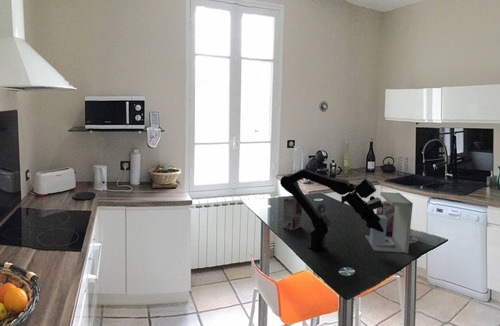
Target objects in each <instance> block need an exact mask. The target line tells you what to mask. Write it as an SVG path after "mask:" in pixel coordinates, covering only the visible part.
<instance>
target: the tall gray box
mask: <svg viewBox="0 0 500 326" xmlns="http://www.w3.org/2000/svg"><path fill="white" fill-rule="evenodd" d="M378 216H379V218H380V219H381V220H380V221H379V223H380V225H381V227H382V228H383V230H384V231H383V232H380V231H378V230H375V229H373V228H369V236H370V243H371V245H373V246H385V239H386V237H387V233H386V227H387V218H386V217H385V216H384V215H378ZM371 245H370V246H371Z"/></svg>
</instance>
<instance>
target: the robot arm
mask: <svg viewBox="0 0 500 326" xmlns="http://www.w3.org/2000/svg"><path fill="white" fill-rule="evenodd" d="M302 179H305V180H308V181H310V182H313V183H315V184H319V185H322V186H324V187H327V188H329V189H330V190H331V191H332V192H334V193H336V194H338V195H340V196H341V198H340V199H341V200H340V201H341V204H342V205H343V204H344V203H347V204H348V205H349V206H350V207H351V208H352V209H353V211H354V212H355V213H356V214H357V215H359V217H360V219H362V220H363V222H364V224H365V226H366V227H367V228H368V229H370V228H373V229H375V230H378V231H380V232H383V231H384V230H383V228H382V227H381V225H380V223H379V221H380V220H381V219H380V218H379V216H378V215H377V214H376V213H375V211H374V210H377V208H379V207H380V208H381V207H383V205H382V202H381V201H382V200H381V198H380V197H375V196H373V195H372V194H374V193H375V192H376V191H377V189H376V187H375V186H374V185H373V183H372V182H370V180H368V179H367V178H364V179H363V180H362V181H361V182H360V183H358V184H354V183H350V182H349V181H348V180H346V179H342V178H341V179H340V178H334V177H333V178H332V177H330V176H326V175H325V174H320V173H319V172H318V173H317V172H314V171H312V170H310V169H308V168H302V169H299V171H297V172H295V173H288V174H286V175H284V176H282V177H281V179H280V183H279V184H280V186H281V187H282V188H283V189H284V190H285V191H286V192H288V193H289V194H291V195H292V197H294V198H295V199H296V200H297V201H298V203H299V204H300V205H301V207H302V210H303V211H304V212H305V214H307V216H308V217H309V219H310V221H311V224H312V227H313V228H312V230H311V232H310V233H309V234H310V245H309V246H307V248H309V249H310V250H312V251H315V252H318V253H319V252H323V251H325V250H327V249H328V247H326V235H327V234H328V232H329V231H330V229H331V223H330V221H331V220H330V219H329V218H328V217H327V216H326V214H321V213H319V212H318V210H317V209H316V208H315V206H314V205H313V204H312V202H311V201H310V200H309V199H308V198H307V196H306V194H305V193H304V191H302V189H301V188H300V184H299V182H298V181H301V180H302ZM367 198H369V199H368V201H366V200H364V199H367Z"/></svg>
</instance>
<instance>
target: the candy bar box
mask: <svg viewBox="0 0 500 326" xmlns="http://www.w3.org/2000/svg"><path fill="white" fill-rule="evenodd" d="M381 202H382V205H383V207H381V208H380V207H379V208H377V209H376V213H375V214H377V215H384V216H385V217H386V218H387V227H386V234H388V233H393V222H394V211H395V206H393V205H391V204H390V203H389V202H387V201H386V200H381Z"/></svg>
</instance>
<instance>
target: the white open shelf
mask: <svg viewBox="0 0 500 326" xmlns="http://www.w3.org/2000/svg"><path fill="white" fill-rule="evenodd" d="M380 196H381V197H382V198H383V199H384V201H387V202H389V203H390V204H391V205H393V206H395V211H394V222H393V232H392V236H386V239H385V246H373V245H371V243H370V235H366V234H365V235H364V237H365V239H366V240H367V242H368V243H369V245H370V246H371V248H372V251H374V252H378V253H379V252H380V253H381V252H382V253H400V254H409V247H410V236H411V228H412V227H411V226H412V225H411V224H412V217H413V216H412V215H413V214H412V213H413V204H414V203H413V202H412V201H411V200H409V199H408V198H406V197H405V196H404V195H403V194H401V193H400V192H391V191H389V192H388V191H387V192H386V191H381V192H380Z"/></svg>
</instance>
